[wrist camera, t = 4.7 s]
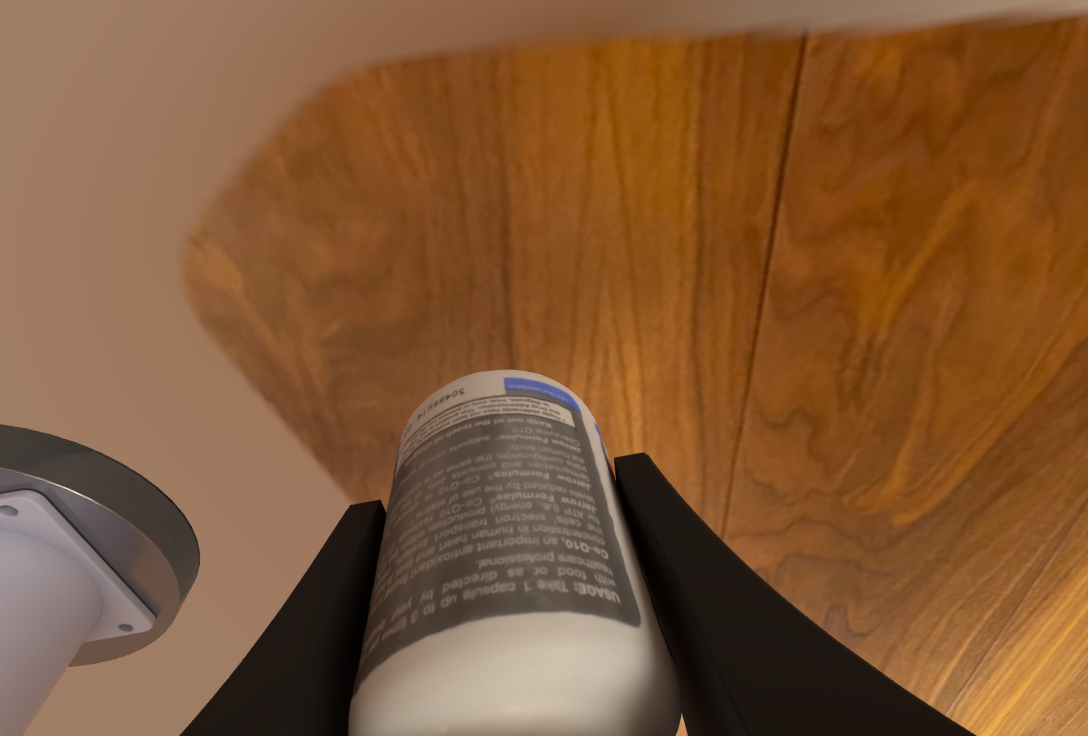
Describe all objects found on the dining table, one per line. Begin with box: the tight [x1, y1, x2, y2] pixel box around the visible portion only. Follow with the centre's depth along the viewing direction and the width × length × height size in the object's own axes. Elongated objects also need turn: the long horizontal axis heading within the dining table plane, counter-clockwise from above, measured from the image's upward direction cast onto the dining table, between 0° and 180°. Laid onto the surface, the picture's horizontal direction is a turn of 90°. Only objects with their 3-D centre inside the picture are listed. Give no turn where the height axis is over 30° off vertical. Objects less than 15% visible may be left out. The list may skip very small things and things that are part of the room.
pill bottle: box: [348, 370, 682, 736], centre depth 9 cm, size 5×5×8 cm
